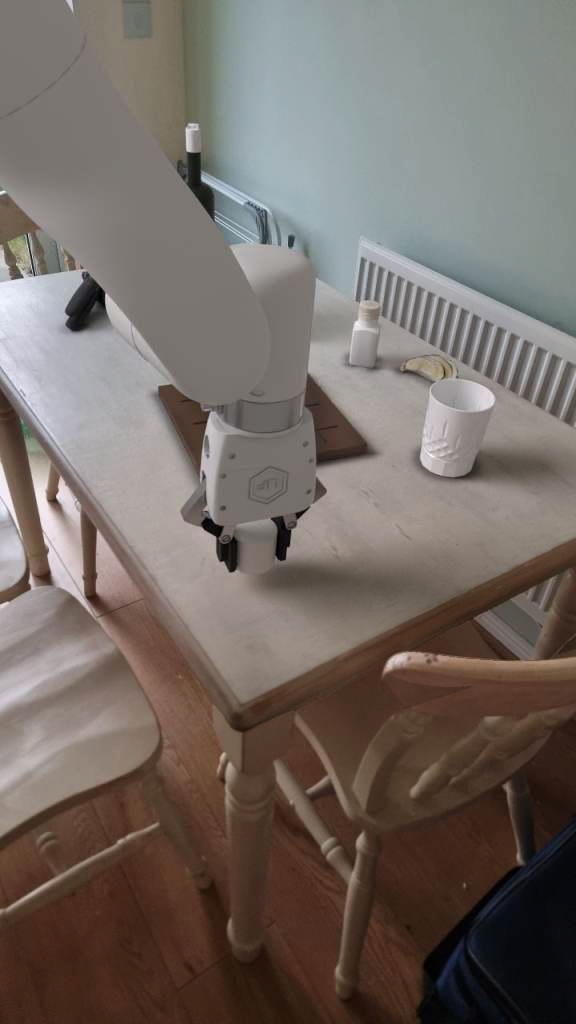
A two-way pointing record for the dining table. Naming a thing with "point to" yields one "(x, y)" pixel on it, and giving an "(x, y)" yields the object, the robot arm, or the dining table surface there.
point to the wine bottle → (197, 170)
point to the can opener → (83, 301)
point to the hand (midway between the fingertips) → (253, 556)
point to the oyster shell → (431, 367)
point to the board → (329, 422)
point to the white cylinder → (256, 546)
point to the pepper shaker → (366, 335)
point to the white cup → (455, 426)
